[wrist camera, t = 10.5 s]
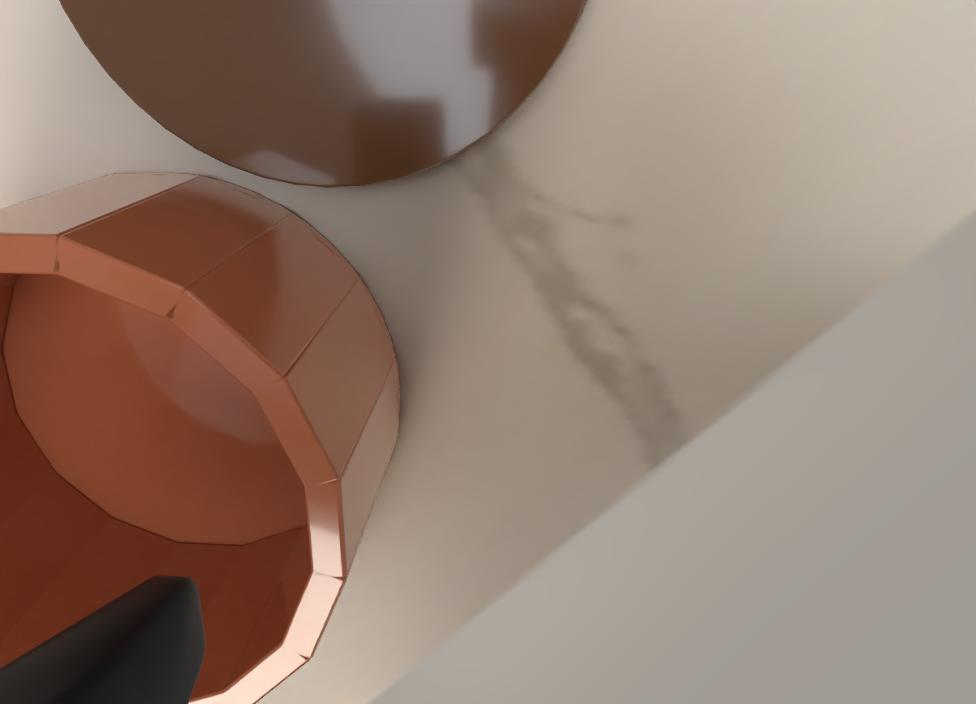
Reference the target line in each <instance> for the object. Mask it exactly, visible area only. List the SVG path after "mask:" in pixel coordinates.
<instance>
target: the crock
mask: <svg viewBox="0 0 976 704" xmlns="http://www.w3.org/2000/svg"><path fill="white" fill-rule="evenodd" d="M399 411H400V383H399V373H398V364H397V360H396V356H395V352H394V348H393V344H392V340H391V337H390V334H389V332H388V329H387V327H386V324H385V322H384V319H383V317H382V314H381V312H380V310H379V308H378V306H377V305H376V303H375V301H374V299H373V297H372V296H371V294H370V292H369V290H368V288H367V287H366V285H365V284H364V283H363V281H362V280H361V279H360V277H359V276H358V274H357V273H356V272H355V270H354V269H353V268H352V266H351V265H350V264H349V262H348V261H347V260H346V259H345V258H344V257H343V256H342V255H341V254H340V253H339V252H338V251H337V250H336V248H335V247H334V246H333V245H332V244H331V243H330V242H329V241H328V240H327V239H325V238H324V237H323V236H322V235H321V234H319V233H318V232H317V231H316V230H315V229H314V228H312V227H311V226H310V225H309V224H308V223H306V222H305V221H304V220H302V219H300V218H299V217H297V216H296V215H294V214H293V213H291V212H290V211H288V210H287V209H285V208H284V207H282V206H281V205H279V204H277V203H275V202H273V201H271V200H269V199H267V198H265V197H263V196H261V195H259V194H257V193H255V192H253V191H250V190H248V189H245V188H242V187H239V186H236V185H234V184H231V183H228V182H225V181H222V180H217V179H213V178H208V177H204V176H199V175H195V174H184V173H173V172H149V173H133V174H111V175H106V176H103V177H100V178H97V179H94V180H91V181H87V182H84V183H81V184H78V185H75V186H72V187H69V188H66V189H62V190H59V191H56V192H53V193H50V194H47V195H44V196H40V197H37V198H34V199H31V200H28V201H25V202H22V203H19V204H15V205H12V206H9V207H6V208H3V209H0V668H2V667H3V666H5V665H7V664H8V663H10V662H12V661H13V660H15V659H17V658H18V657H20V656H22V655H23V654H25V653H27V652H28V651H30V650H32V649H33V648H35V647H37V646H38V645H40V644H42V643H43V642H45V641H47V640H48V639H50V638H51V637H53V636H55V635H56V634H58V633H60V632H61V631H63V630H65V629H66V628H68V627H70V626H71V625H73V624H75V623H76V622H78V621H80V620H81V619H83V618H85V617H86V616H88V615H90V614H91V613H93V612H95V611H96V610H98V609H100V608H101V607H103V606H105V605H106V604H108V603H109V602H111V601H113V600H114V599H116V598H118V597H119V596H121V595H123V594H124V593H126V592H128V591H129V590H131V589H133V588H134V587H136V586H138V585H139V584H141V583H143V582H144V581H146V580H148V579H150V578H151V577H154V576H158V575H166V576H185V577H190V578H192V579H193V580H194V581H195V582H196V584H197V587H198V591H199V597H200V604H201V610H202V617H203V623H204V630H205V637H206V648H205V655H204V659H203V663H202V666H201V669H200V672H199V674H198V677H197V680H196V683H195V686H194V689H193V692H192V695H191V697H190V700H189V703H188V704H255V703H256V702H258V701H259V700H260V699H261V698H263V697H264V696H265V695H266V694H268V693H269V692H270V691H271V690H273V689H274V688H275V687H276V686H278V685H279V684H280V683H281V682H283V681H284V680H285V679H286V678H288V677H289V676H290V675H291V674H293V673H294V672H295V671H296V670H298V669H299V668H300V667H301V666H303V665H304V664H305V663H306V662H308V661H309V660H310V658H312V657H313V655H314V653H315V650H316V648H317V646H318V644H319V641H320V639H321V637H322V634H323V632H324V630H325V628H326V625H327V623H328V621H329V619H330V616H331V614H332V612H333V610H334V607H335V605H336V603H337V600H338V598H339V596H340V594H341V591H342V589H343V587H344V585H345V582H346V580H347V577H348V574H349V572H350V569H351V566H352V563H353V561H354V558H355V555H356V552H357V550H358V547H359V544H360V541H361V538H362V536H363V533H364V530H365V527H366V525H367V522H368V519H369V516H370V513H371V511H372V508H373V505H374V502H375V500H376V497H377V494H378V491H379V489H380V486H381V483H382V480H383V477H384V475H385V472H386V469H387V466H388V464H389V461H390V458H391V455H392V452H393V450H394V447H395V444H396V441H397V439H398V433H399V426H398V420H399Z"/></svg>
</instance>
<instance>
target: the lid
mask: <svg viewBox="0 0 976 704" xmlns="http://www.w3.org/2000/svg"><path fill="white" fill-rule="evenodd" d="M59 1H60V3H61V5H62V7H63V9H64V11H65V12H66V14H67V16H68V17H69V19H70V21H71V22H72V24H73V25H74V27H75V29H76V30H77V32H78V34H79V35H80V37H81V39H82V40H83V42H84V44H85V45H86V46H87V47H88V49H89V50H90V51H91V53H92V54H93V55H94V57H95V58H96V59H97V60H98V62H99V63H100V64H101V66H102V67H103V68H104V70H105V71H106V72H107V74H108V75H109V76H110V77H111V78H112V79H113V80H114V81H115V82H116V83H117V84H118V85H119V87H120V88H121V89H122V90H123V91H124V92H125V93H126V94H127V95H128V96H129V97H130V98H131V99H132V100H133V101H134V102H135V103H136V104H137V105H138V106H139V107H140V108H142V109H143V110H144V111H145V112H146V113H147V114H149V115H150V116H151V117H152V118H153V119H155V120H156V121H157V122H158V123H159V124H161V125H162V126H163V127H164V128H165V129H167V130H168V131H170V132H171V133H173V134H174V135H176V136H177V137H179V138H180V139H182V140H183V141H185V142H186V143H188V144H189V145H191V146H192V147H194V148H196V149H197V150H199V151H201V152H203V153H205V154H207V155H209V156H211V157H213V158H215V159H217V160H219V161H221V162H223V163H225V164H227V165H229V166H232V167H235V168H238V169H240V170H243V171H246V172H249V173H252V174H254V175H257V176H260V177H264V178H268V179H273V180H277V181H282V182H286V183H291V184H295V185H306V186H318V187H329V188H330V187H352V186H366V185H371V184H377V183H382V182H388V181H393V180H398V179H401V178H404V177H407V176H410V175H413V174H416V173H419V172H422V171H425V170H428V169H430V168H432V167H435V166H437V165H439V164H441V163H443V162H445V161H447V160H449V159H451V158H453V157H455V156H457V155H459V154H461V153H462V152H464V151H465V150H467V149H468V148H470V147H471V146H473V145H474V144H476V143H477V142H479V141H480V140H482V139H483V138H485V137H486V136H488V135H489V134H491V133H492V132H493V131H494V130H495V129H496V128H497V127H499V126H500V125H501V124H502V123H503V122H504V121H505V120H506V119H508V118H509V117H510V116H511V115H512V114H513V113H514V112H516V111H517V110H518V109H519V107H520V106H521V105H522V104H523V103H524V102H525V101H526V99H527V98H528V97H529V96H530V95H531V94H532V93H533V91H534V90H535V89H536V88H537V87H538V86H539V85H540V83H541V82H542V81H543V79H544V78H545V76H546V75H547V74H548V72H549V71H550V69H551V68H552V66H553V65H554V63H555V62H556V60H557V59H558V57H559V56H560V54H561V53H562V51H563V50H564V48H565V46H566V44H567V42H568V40H569V38H570V36H571V34H572V32H573V30H574V28H575V26H576V24H577V22H578V20H579V18H580V16H581V14H582V12H583V9H584V7H585V4H586V1H587V0H59Z"/></svg>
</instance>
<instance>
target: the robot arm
mask: <svg viewBox="0 0 976 704" xmlns="http://www.w3.org/2000/svg"><path fill="white" fill-rule="evenodd" d="M205 648H206V637H205V630H204V623H203V617H202V610H201V604H200V597H199V591H198V587H197V584H196V582H195V581H194V580H193V579H192V578H190V577H185V576H166V575H158V576H154V577H151V578H150V579H148V580H146V581H144V582H143V583H141V584H139V585H138V586H136V587H134V588H133V589H131V590H129V591H128V592H126V593H124V594H123V595H121V596H119V597H118V598H116V599H114V600H113V601H111V602H109V603H108V604H106V605H105V606H103V607H101V608H100V609H98V610H96V611H95V612H93V613H91V614H90V615H88V616H86V617H85V618H83V619H81V620H80V621H78V622H76V623H75V624H73V625H71V626H70V627H68V628H66V629H65V630H63V631H61V632H60V633H58V634H56V635H55V636H53V637H51V638H50V639H48V640H47V641H45V642H43V643H42V644H40V645H38V646H37V647H35V648H33V649H32V650H30V651H28V652H27V653H25V654H23V655H22V656H20V657H18V658H17V659H15V660H13V661H12V662H10V663H8V664H7V665H5V666H3V667H2V668H0V704H188V703H189V700H190V697H191V695H192V692H193V689H194V686H195V683H196V680H197V677H198V674H199V672H200V669H201V666H202V663H203V659H204V655H205Z"/></svg>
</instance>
